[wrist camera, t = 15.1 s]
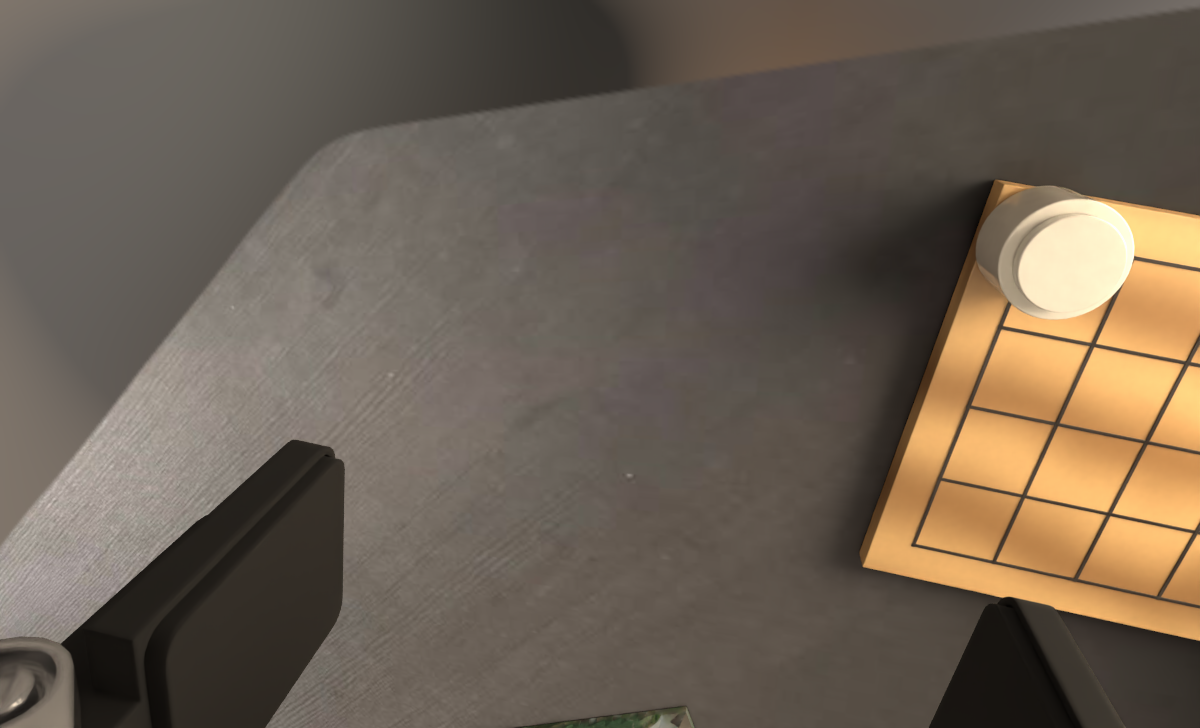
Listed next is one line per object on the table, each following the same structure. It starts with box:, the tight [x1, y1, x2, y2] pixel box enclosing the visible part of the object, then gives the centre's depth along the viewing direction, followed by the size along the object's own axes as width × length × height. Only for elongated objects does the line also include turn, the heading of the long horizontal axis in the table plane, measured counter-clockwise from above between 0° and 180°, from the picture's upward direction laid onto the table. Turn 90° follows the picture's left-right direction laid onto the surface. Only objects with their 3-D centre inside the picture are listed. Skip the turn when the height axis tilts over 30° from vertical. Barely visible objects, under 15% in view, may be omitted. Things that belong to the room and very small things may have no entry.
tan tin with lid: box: [976, 186, 1134, 320], centre depth 30 cm, size 5×5×4 cm
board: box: [859, 180, 1200, 641], centre depth 35 cm, size 20×20×1 cm
